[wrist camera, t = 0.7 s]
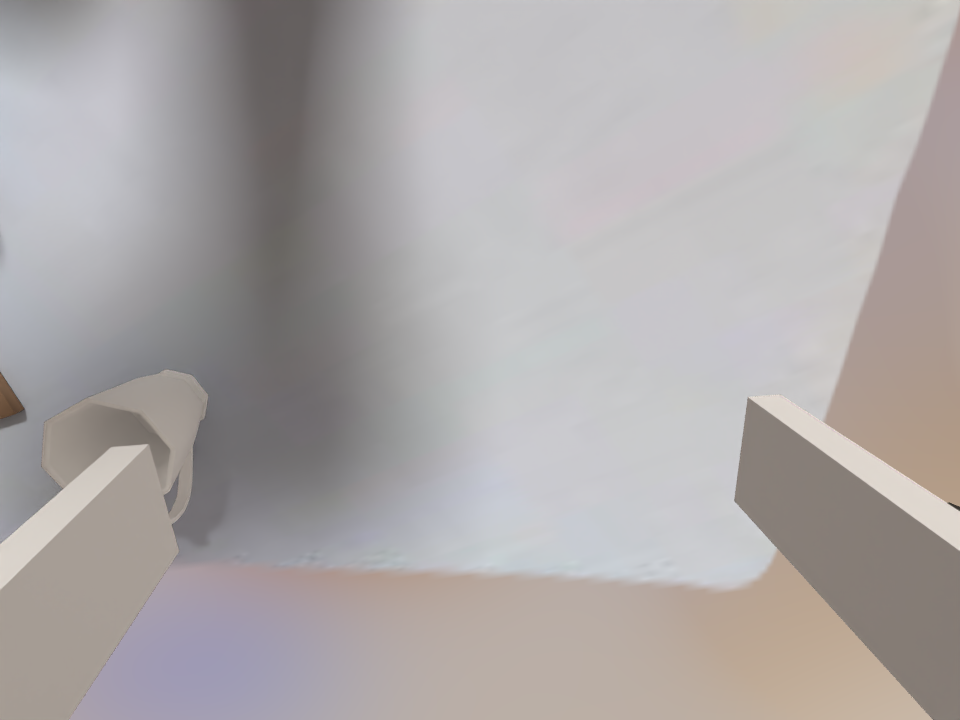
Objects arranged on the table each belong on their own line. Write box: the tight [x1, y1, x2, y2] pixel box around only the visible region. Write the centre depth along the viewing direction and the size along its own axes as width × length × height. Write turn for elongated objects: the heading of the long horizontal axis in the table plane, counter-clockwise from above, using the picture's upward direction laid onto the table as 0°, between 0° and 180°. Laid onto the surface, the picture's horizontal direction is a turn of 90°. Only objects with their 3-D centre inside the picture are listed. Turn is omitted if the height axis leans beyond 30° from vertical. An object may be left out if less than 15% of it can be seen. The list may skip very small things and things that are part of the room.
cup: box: [41, 369, 208, 524], centre depth 33 cm, size 7×10×8 cm
